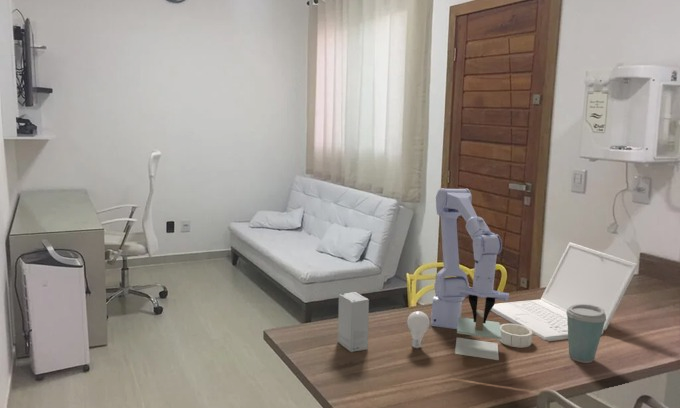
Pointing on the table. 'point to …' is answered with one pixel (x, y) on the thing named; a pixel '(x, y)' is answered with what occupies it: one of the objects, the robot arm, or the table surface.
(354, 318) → the skincare box
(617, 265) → the laptop
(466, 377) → the table surface
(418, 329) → the lightbulb
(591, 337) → the disposable coffee cup
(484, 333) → the lid
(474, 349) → the mat
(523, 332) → the bowl
